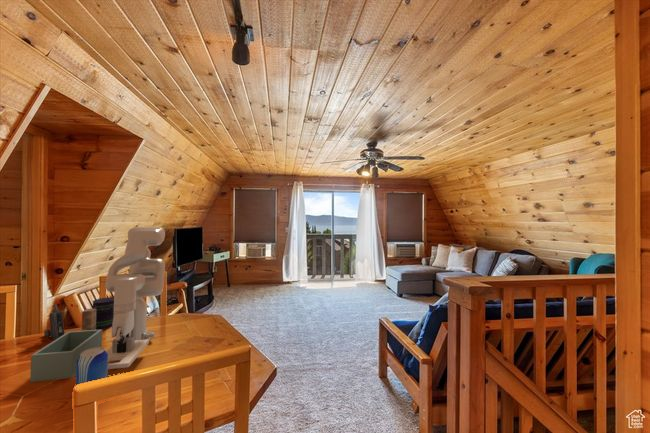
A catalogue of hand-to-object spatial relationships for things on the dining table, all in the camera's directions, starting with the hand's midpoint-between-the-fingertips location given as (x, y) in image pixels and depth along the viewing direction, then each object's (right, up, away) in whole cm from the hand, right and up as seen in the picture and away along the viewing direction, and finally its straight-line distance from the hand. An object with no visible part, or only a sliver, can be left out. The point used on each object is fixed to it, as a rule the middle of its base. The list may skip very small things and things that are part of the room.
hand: (123, 350), depth 118 cm
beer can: (+4, -7, -21) cm, 23 cm away
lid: (0, -2, -1) cm, 2 cm away
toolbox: (-22, -6, -1) cm, 22 cm away
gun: (-52, -5, +23) cm, 57 cm away
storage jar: (-39, -6, +39) cm, 55 cm away
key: (-31, -6, +19) cm, 37 cm away
